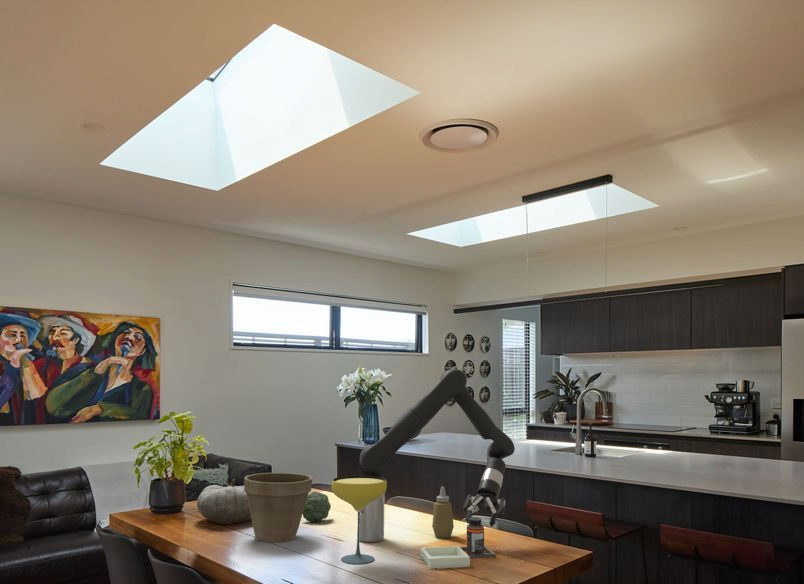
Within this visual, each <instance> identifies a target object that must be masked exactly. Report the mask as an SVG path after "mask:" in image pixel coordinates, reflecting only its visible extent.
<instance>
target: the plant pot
mask: <svg viewBox="0 0 804 584" xmlns="http://www.w3.org/2000/svg"><path fill="white" fill-rule="evenodd" d="M243 482H244V483H243V484H244V485H243V486H244V491H245V492H246V493H247V498H248V504H249V509H250V514H251V524H252V529H253V533H254V537H255V539H256V540H258V541H260V542H265V543H282V542H289V541H291V540H293V539H296V537H297V533H298V531H299V528H300V524H301V521H302V517H303V511H304V507H305V504H306V500H307V497H308V494H310V493H311V492H312V486H313V485H312V484H313V477H312V476H311V475H308V474H303V473H293V472H292V473H291V472H261V473H253V474H248V475H246V476H245V477H244V481H243Z"/></svg>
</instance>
